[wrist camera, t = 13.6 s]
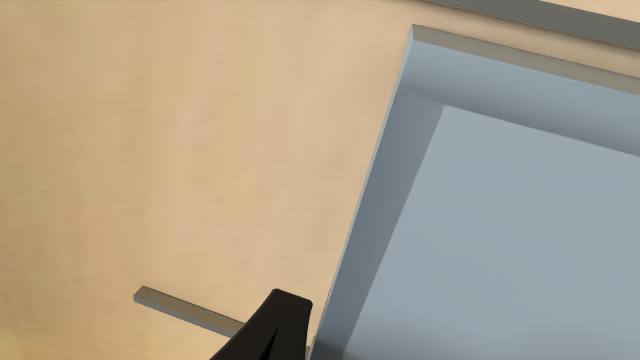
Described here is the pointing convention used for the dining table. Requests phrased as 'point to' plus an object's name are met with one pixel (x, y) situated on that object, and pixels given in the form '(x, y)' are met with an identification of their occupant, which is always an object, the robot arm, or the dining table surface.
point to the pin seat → (506, 3)
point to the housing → (494, 213)
